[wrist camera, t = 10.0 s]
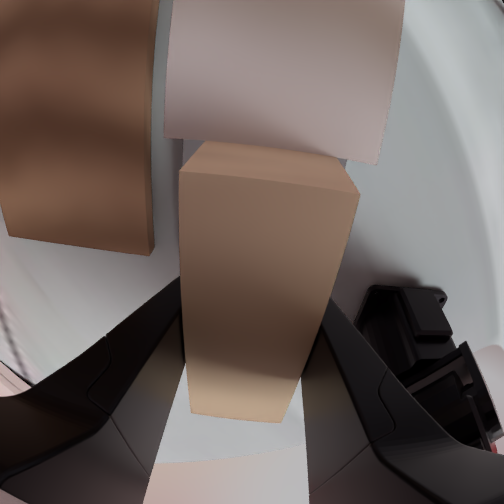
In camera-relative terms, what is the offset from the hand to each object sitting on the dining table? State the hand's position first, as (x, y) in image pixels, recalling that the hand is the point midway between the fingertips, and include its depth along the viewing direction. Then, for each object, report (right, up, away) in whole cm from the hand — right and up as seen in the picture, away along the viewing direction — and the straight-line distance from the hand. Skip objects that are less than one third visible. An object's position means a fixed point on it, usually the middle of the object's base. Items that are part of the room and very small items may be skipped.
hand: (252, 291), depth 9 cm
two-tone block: (0, +4, -1) cm, 4 cm away
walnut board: (-11, +13, +3) cm, 17 cm away
